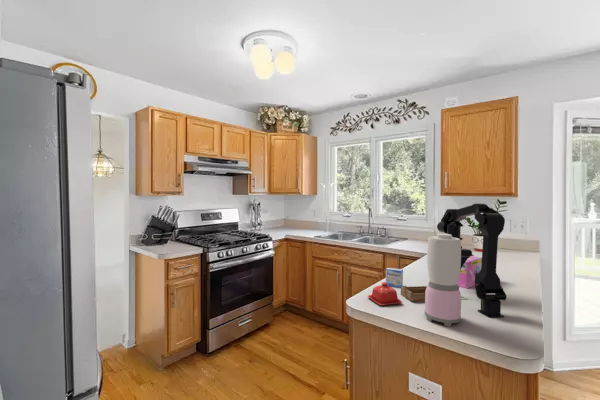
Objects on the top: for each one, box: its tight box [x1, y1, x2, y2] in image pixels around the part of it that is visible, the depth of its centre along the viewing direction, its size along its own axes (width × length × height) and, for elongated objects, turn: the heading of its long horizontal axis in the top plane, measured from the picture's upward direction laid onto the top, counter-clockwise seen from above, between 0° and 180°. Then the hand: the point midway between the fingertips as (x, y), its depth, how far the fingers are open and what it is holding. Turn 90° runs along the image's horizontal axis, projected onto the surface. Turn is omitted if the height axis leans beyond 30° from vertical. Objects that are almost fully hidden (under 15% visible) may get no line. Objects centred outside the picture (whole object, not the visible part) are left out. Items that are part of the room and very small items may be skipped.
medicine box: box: [385, 267, 404, 289], centre depth 150 cm, size 8×4×9 cm, turn 62°
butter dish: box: [367, 281, 403, 306], centre depth 128 cm, size 12×12×8 cm
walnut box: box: [400, 285, 428, 303], centre depth 132 cm, size 10×14×4 cm
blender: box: [424, 233, 462, 328], centre depth 110 cm, size 16×12×32 cm
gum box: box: [457, 254, 482, 289], centre depth 156 cm, size 24×8×14 cm, turn 127°
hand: (452, 267), depth 141 cm, fingers open, 9 cm apart
